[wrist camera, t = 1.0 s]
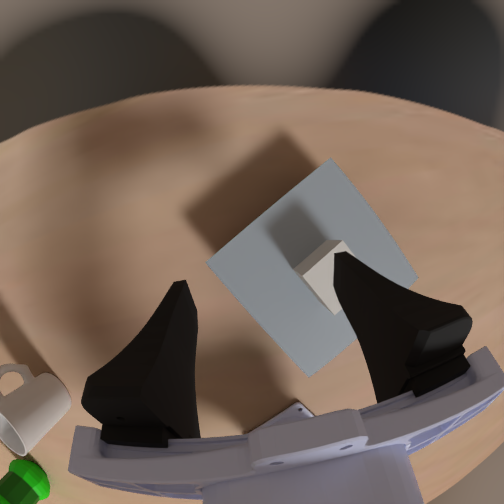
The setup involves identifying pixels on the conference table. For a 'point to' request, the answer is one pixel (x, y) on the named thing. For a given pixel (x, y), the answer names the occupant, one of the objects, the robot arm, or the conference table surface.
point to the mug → (31, 408)
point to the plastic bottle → (24, 483)
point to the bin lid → (307, 264)
